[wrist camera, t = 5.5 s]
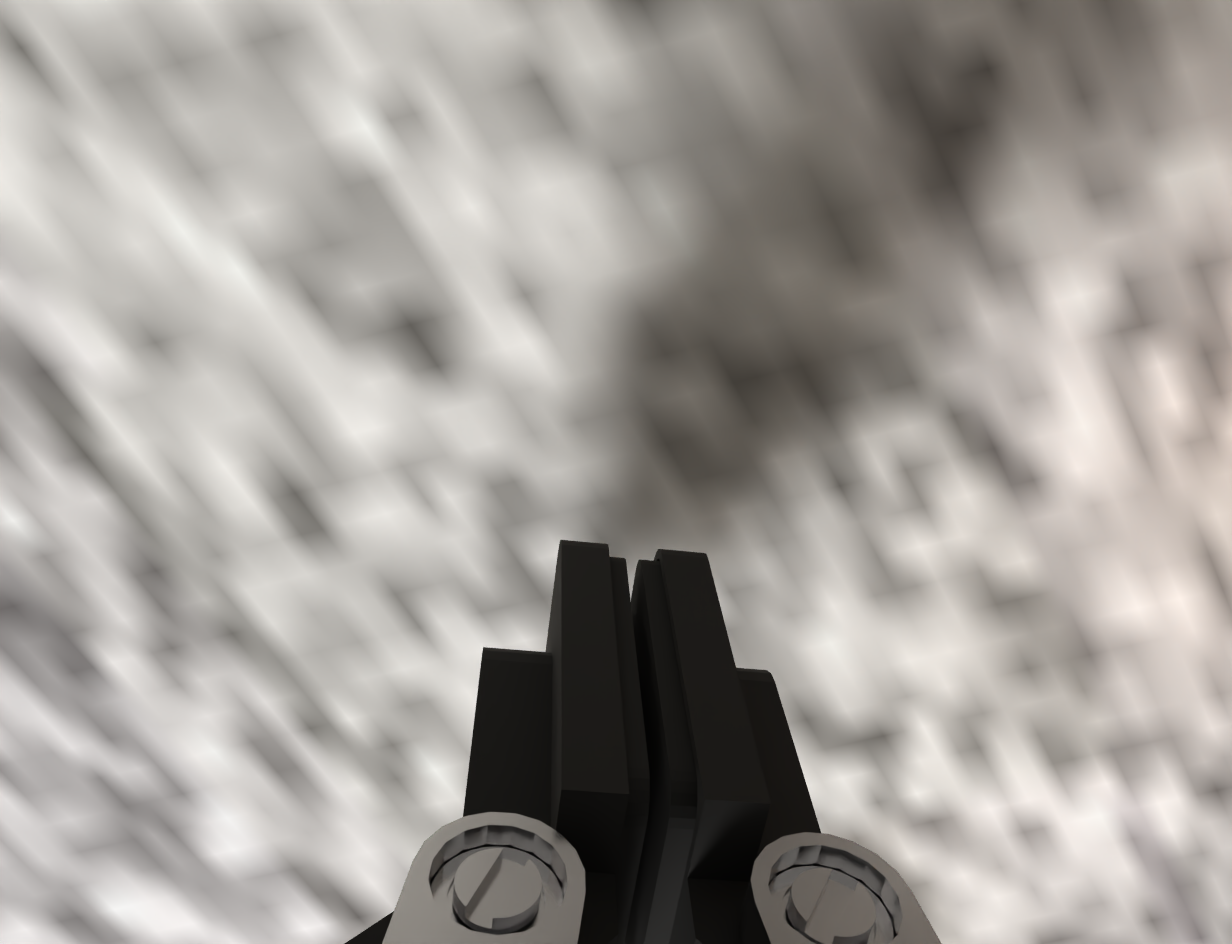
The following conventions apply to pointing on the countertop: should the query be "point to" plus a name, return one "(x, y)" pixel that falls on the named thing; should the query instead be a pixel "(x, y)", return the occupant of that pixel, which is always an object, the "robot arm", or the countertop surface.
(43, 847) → the countertop surface
